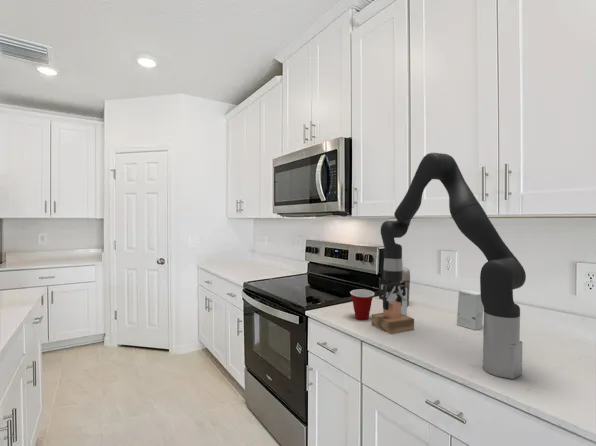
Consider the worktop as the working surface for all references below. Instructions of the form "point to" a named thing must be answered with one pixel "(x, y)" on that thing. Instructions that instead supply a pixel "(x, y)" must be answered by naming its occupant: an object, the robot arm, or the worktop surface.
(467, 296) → the skincare box
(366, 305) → the plastic cup
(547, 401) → the worktop surface
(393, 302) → the terracotta block
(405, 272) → the spray can
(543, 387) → the worktop surface
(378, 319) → the walnut box
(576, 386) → the worktop surface
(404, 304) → the supplement box
